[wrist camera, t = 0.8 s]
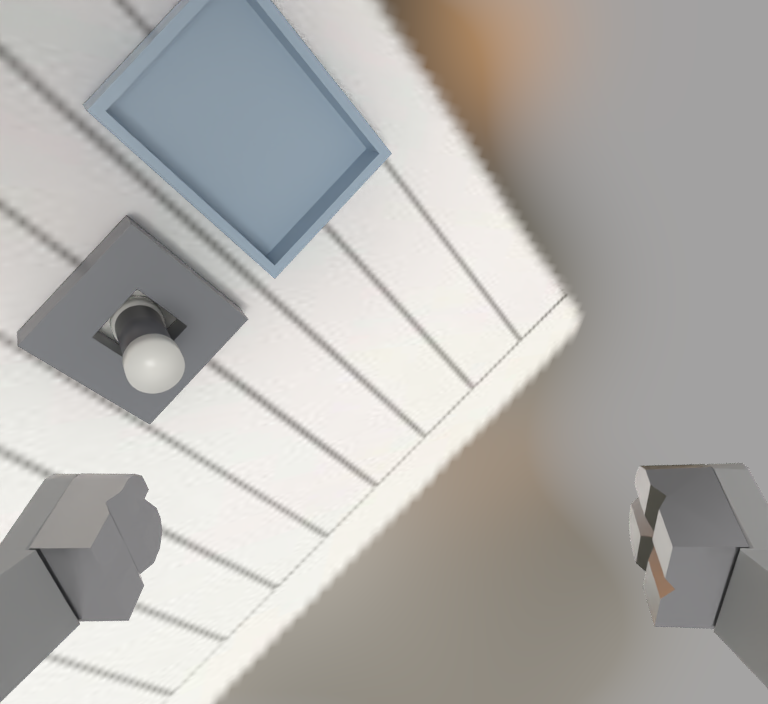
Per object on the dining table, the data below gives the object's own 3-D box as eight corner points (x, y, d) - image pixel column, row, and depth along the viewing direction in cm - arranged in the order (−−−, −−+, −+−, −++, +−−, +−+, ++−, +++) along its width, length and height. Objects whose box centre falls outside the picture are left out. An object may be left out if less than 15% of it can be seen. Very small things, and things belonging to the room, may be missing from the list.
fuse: (98, 323, 52) (112, 374, 45) (133, 286, 52) (152, 331, 45) (139, 350, 55) (158, 403, 47) (172, 315, 55) (196, 362, 47)
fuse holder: (17, 332, 50) (17, 346, 48) (126, 215, 50) (131, 224, 48) (144, 409, 57) (149, 424, 55) (239, 308, 57) (248, 319, 55)
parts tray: (82, 104, 45) (86, 110, 43) (222, -45, 45) (233, -47, 43) (263, 267, 56) (274, 278, 54) (375, 147, 56) (391, 153, 54)
